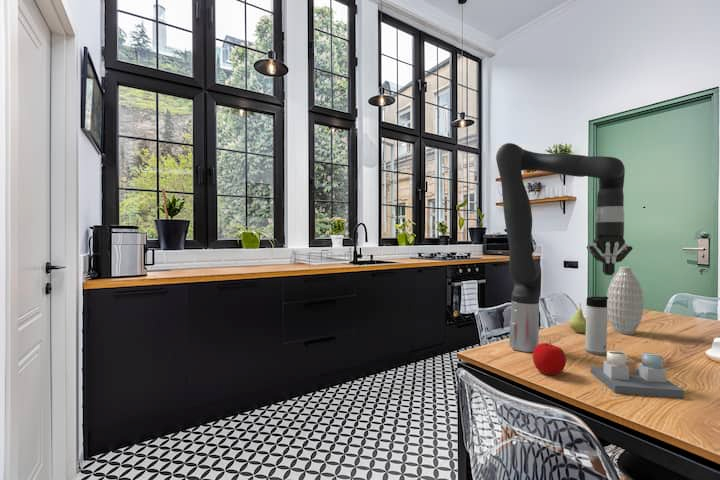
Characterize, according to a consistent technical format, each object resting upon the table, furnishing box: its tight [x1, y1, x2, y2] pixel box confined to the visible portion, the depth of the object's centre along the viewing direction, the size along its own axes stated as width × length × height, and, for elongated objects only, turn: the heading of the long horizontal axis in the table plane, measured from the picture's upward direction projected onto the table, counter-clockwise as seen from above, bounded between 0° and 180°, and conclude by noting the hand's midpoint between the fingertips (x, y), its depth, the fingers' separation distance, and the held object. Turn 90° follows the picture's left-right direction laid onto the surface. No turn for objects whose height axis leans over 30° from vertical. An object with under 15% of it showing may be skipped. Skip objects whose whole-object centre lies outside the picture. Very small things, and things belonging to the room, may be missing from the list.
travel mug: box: [585, 295, 608, 356], centre depth 128 cm, size 6×7×20 cm
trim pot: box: [626, 354, 637, 374], centre depth 105 cm, size 3×3×5 cm
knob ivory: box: [606, 350, 627, 367], centre depth 101 cm, size 4×4×6 cm
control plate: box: [590, 360, 685, 399], centre depth 101 cm, size 16×14×6 cm
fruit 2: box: [569, 303, 586, 334], centre depth 154 cm, size 7×8×12 cm
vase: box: [606, 266, 645, 335], centre depth 154 cm, size 13×13×28 cm
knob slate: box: [641, 352, 664, 369], centre depth 100 cm, size 4×4×6 cm
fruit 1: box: [532, 339, 567, 376], centre depth 109 cm, size 9×9×10 cm
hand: (608, 274), depth 116 cm, fingers closed
